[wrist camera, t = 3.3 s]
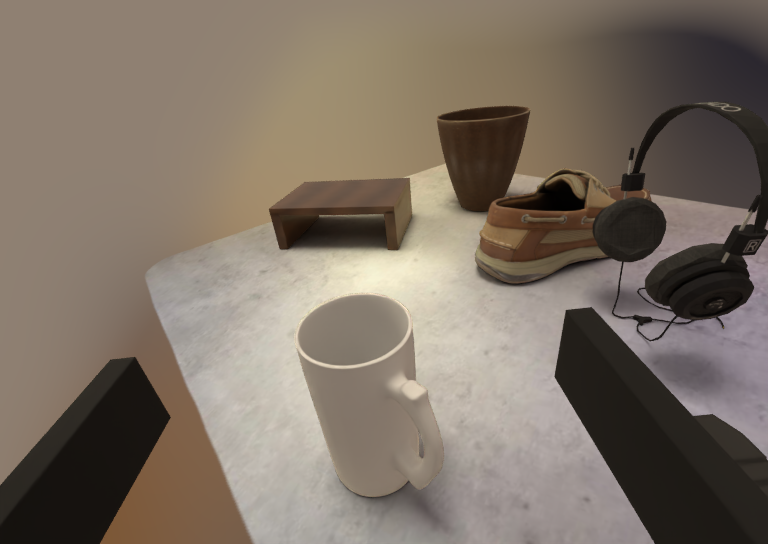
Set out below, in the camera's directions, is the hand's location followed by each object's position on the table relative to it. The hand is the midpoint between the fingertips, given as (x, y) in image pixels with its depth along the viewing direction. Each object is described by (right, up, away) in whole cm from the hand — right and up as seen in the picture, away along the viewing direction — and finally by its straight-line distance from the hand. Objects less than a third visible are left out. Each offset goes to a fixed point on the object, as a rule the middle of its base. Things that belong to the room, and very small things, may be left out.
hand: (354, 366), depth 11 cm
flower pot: (+19, +15, +57) cm, 62 cm away
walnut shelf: (-5, +10, +52) cm, 53 cm away
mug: (+1, -11, +14) cm, 18 cm away
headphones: (+28, -3, +24) cm, 37 cm away
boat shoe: (+27, +6, +39) cm, 48 cm away
